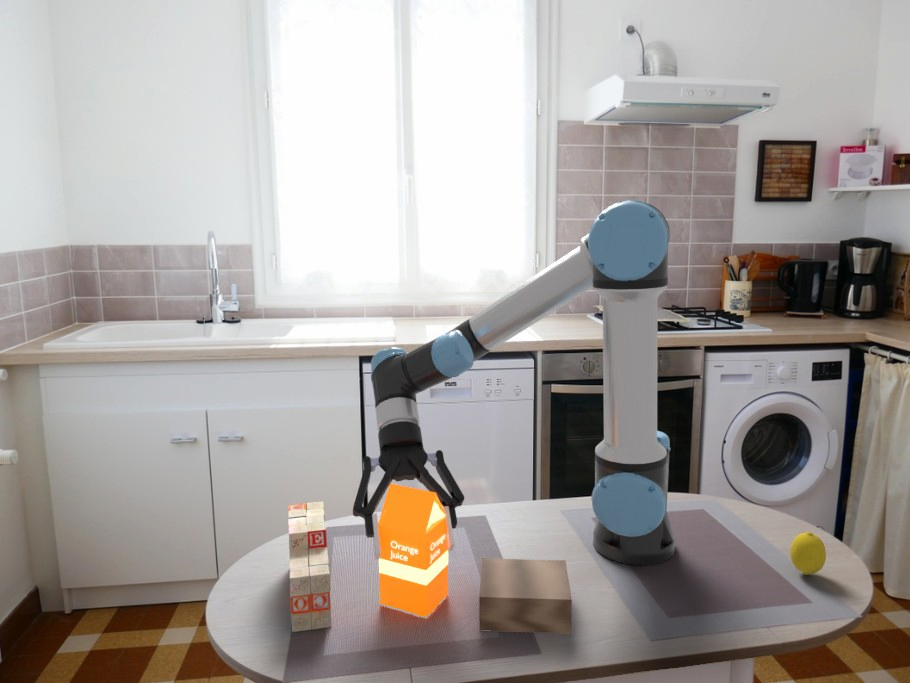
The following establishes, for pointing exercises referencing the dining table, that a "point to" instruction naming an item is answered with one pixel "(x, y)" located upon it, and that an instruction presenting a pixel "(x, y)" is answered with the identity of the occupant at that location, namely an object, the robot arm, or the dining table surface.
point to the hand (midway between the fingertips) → (415, 552)
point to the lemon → (808, 553)
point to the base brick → (525, 596)
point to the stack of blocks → (308, 567)
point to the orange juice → (413, 550)
